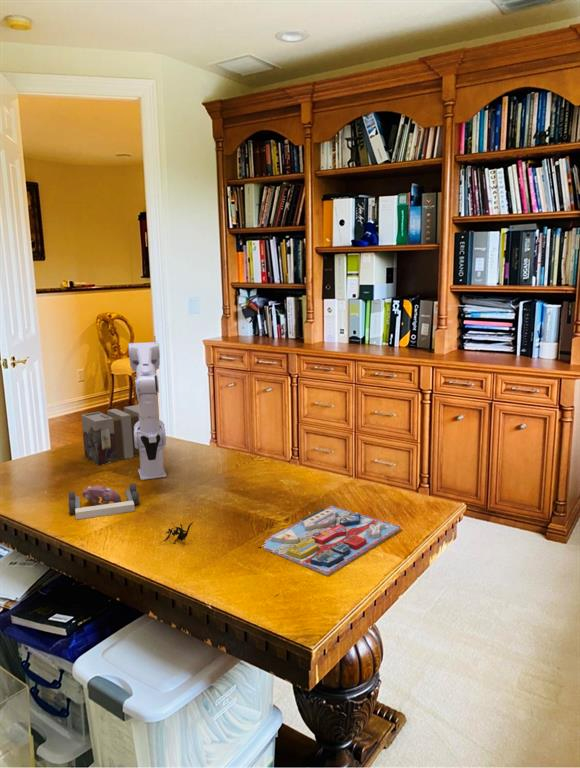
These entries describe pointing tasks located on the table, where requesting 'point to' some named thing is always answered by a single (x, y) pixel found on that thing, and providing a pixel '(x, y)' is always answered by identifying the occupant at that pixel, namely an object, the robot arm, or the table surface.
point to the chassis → (106, 508)
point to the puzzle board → (329, 539)
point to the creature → (181, 534)
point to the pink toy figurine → (101, 495)
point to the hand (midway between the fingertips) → (151, 459)
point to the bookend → (110, 434)
